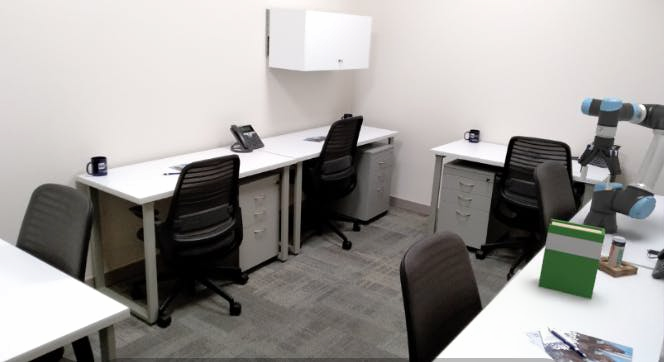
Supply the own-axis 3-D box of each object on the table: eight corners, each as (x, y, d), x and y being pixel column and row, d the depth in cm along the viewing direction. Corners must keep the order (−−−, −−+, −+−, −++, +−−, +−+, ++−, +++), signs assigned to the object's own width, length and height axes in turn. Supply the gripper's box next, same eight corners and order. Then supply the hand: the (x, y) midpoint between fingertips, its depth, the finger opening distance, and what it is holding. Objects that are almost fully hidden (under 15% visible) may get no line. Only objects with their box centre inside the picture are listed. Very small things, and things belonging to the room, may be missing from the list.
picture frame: (611, 261, 218) (612, 255, 218) (636, 274, 208) (638, 267, 207) (589, 264, 214) (590, 258, 213) (614, 277, 203) (615, 271, 203)
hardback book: (538, 286, 192) (549, 224, 186) (540, 278, 198) (551, 218, 192) (591, 299, 185) (604, 235, 178) (591, 290, 191) (604, 228, 185)
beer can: (609, 262, 214) (615, 234, 210) (622, 266, 210) (628, 238, 207) (605, 265, 210) (611, 237, 207) (618, 269, 207) (624, 240, 204)
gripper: (574, 130, 228) (566, 177, 234) (624, 142, 206) (613, 194, 211) (587, 130, 231) (578, 177, 236) (638, 142, 209) (626, 193, 214)
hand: (595, 185), depth 224 cm, fingers open, 13 cm apart
